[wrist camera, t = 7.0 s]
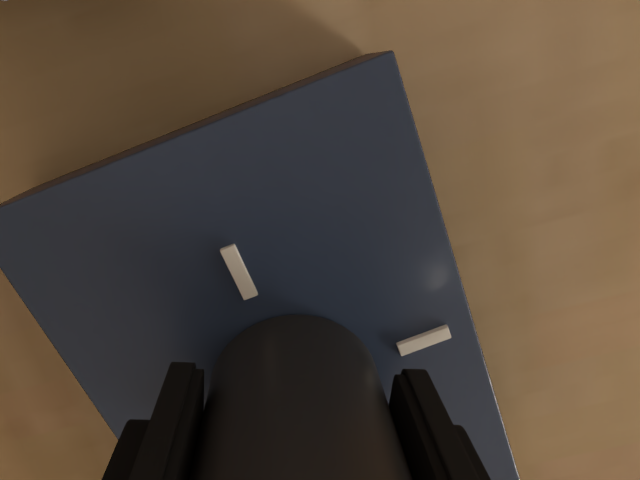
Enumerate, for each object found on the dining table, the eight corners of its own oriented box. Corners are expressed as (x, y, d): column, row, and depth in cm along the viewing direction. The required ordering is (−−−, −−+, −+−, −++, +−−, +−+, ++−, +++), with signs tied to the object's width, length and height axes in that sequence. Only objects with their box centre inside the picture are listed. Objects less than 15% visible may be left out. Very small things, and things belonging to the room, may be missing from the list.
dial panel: (487, 433, 18) (529, 506, 15) (238, 522, 18) (230, 610, 15) (367, 52, 13) (395, 49, 10) (31, 187, 13) (-39, 222, 10)
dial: (388, 317, 12) (477, 520, 7) (365, 453, 14) (423, 710, 8) (212, 308, 12) (154, 520, 6) (209, 451, 13) (159, 723, 8)
